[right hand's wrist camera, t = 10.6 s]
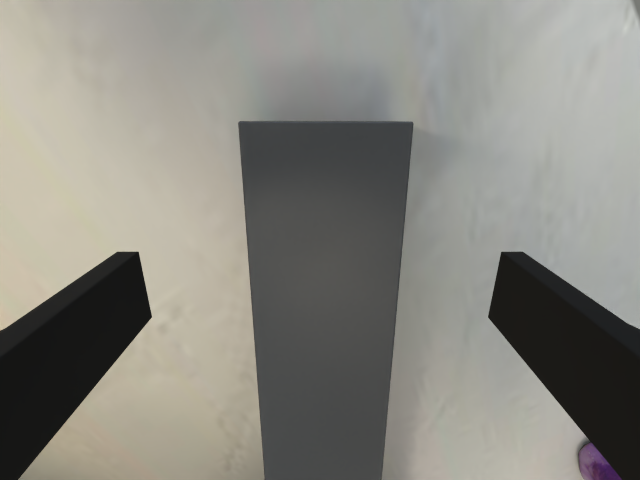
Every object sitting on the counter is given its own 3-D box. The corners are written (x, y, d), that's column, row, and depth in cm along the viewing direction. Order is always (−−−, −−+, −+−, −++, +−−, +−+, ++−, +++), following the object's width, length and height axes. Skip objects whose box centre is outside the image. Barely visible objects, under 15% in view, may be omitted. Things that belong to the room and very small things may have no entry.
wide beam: (261, 121, 25) (237, 121, 18) (390, 121, 25) (413, 121, 18) (284, 561, 42) (276, 644, 35) (360, 563, 42) (366, 646, 35)
